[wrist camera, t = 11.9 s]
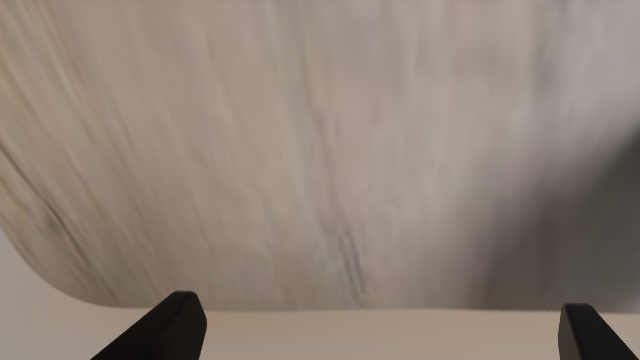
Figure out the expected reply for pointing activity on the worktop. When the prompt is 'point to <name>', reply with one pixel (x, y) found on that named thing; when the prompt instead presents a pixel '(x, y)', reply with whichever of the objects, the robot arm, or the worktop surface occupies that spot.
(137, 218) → the worktop surface
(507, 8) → the worktop surface
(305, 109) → the worktop surface
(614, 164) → the worktop surface
